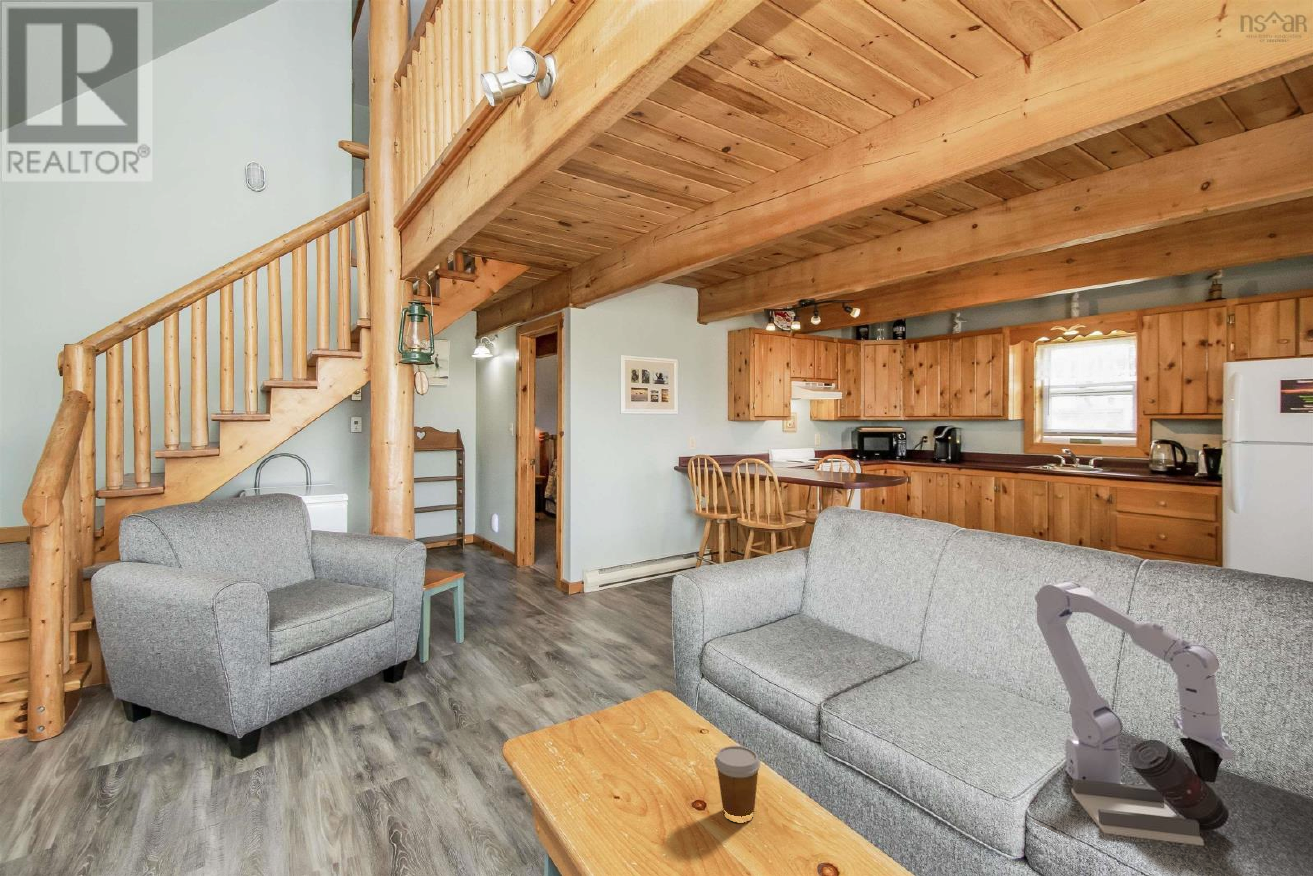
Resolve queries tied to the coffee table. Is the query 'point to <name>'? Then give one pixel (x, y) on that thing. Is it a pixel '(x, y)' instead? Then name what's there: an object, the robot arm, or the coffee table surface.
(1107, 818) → the lens cradle
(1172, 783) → the dark patterned cylinder
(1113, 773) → the robot arm
